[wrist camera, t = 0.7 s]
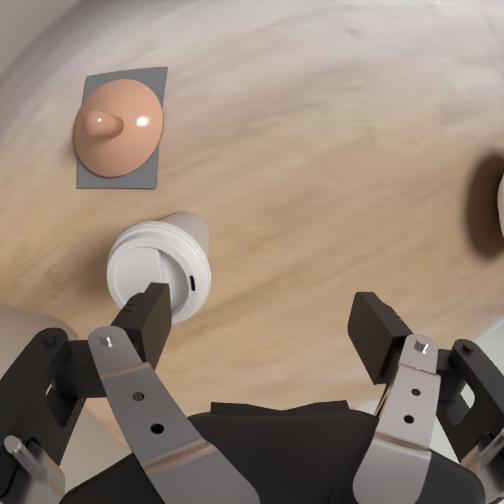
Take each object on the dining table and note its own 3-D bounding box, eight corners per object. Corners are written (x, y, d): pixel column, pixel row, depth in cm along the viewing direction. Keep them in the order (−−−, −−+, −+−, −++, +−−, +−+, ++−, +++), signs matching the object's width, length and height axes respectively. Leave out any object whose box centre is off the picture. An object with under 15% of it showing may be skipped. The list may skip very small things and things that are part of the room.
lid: (82, 86, 28) (55, 77, 22) (169, 77, 29) (153, 60, 22) (74, 177, 32) (46, 182, 26) (159, 176, 33) (141, 181, 26)
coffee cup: (210, 279, 38) (193, 348, 24) (144, 258, 37) (94, 313, 22) (231, 212, 35) (222, 248, 21) (159, 190, 34) (106, 212, 20)
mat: (88, 77, 28) (86, 76, 28) (167, 67, 29) (167, 66, 28) (78, 187, 33) (77, 187, 33) (156, 188, 34) (155, 188, 33)
